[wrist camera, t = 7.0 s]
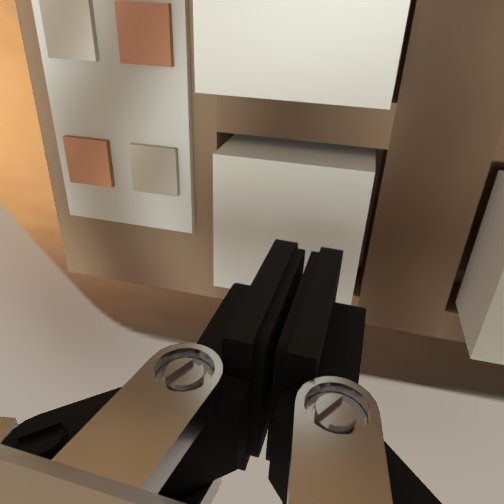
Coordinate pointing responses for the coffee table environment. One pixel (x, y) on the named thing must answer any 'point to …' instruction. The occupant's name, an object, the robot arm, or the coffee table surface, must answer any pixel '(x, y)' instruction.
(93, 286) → the coffee table surface
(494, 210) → the button
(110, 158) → the button board
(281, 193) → the button
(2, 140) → the coffee table surface
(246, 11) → the button
